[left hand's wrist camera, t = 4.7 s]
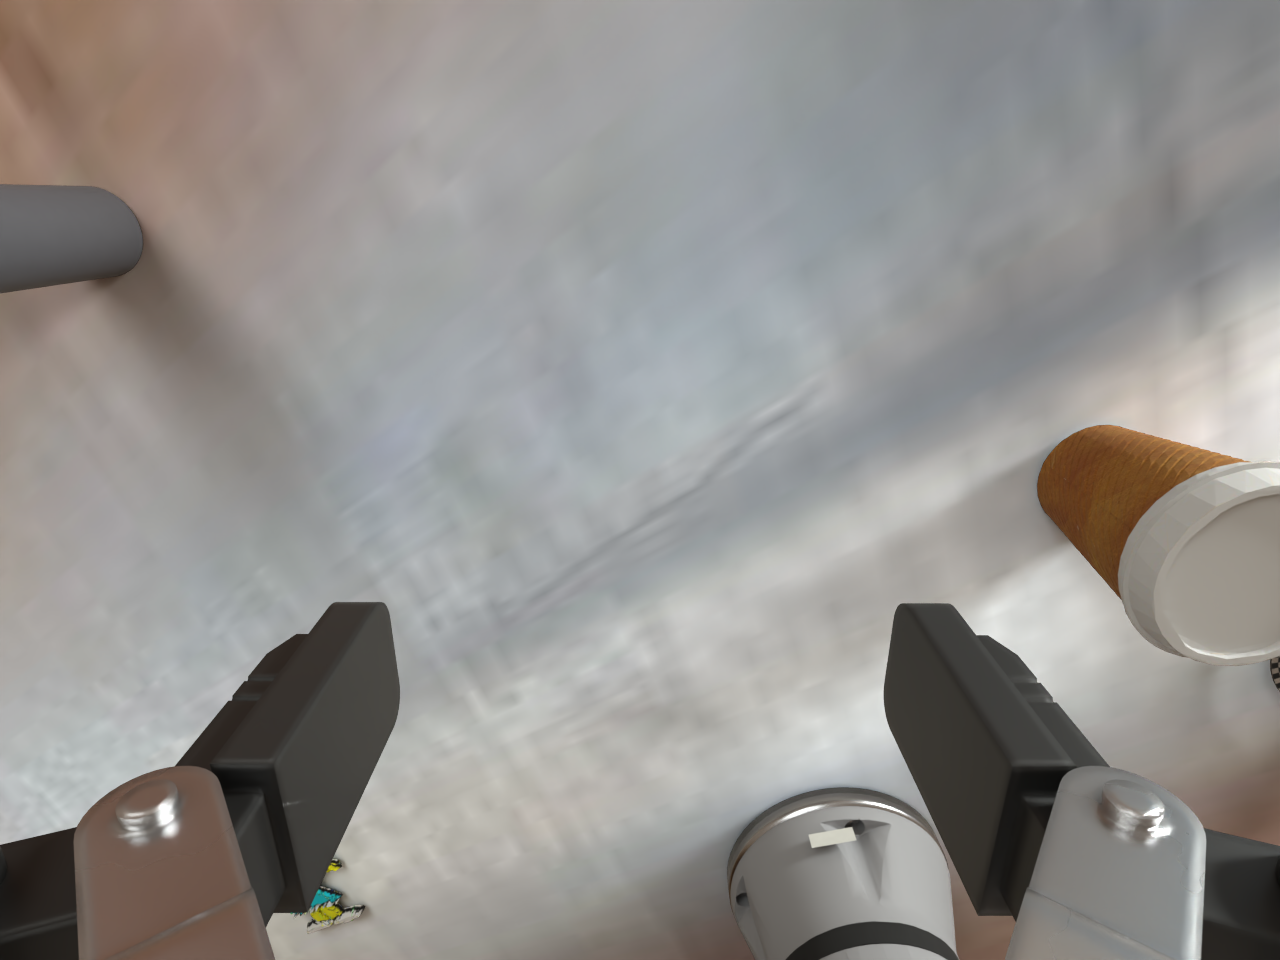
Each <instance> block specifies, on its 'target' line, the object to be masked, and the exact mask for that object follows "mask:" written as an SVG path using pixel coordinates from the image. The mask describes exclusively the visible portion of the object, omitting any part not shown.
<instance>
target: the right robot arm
mask: <svg viewBox="0 0 1280 960" xmlns="http://www.w3.org/2000/svg"><path fill="white" fill-rule="evenodd" d="M727 881H728V889H729V897H730V904H731V908H732V912H733V914H734V917H735V919H736V922H737V924H738V926H739V928H740V930H741V932H742V934H743V936H744V938H745V940H746V942H747V944H748V946H749V948H750V950H751V952H752V954H753V956H754V958H755V960H959V958H958V956H957V952H956V942H955V930H954V918H953V906H952V894H951V882H950V874H949V868H948V864H947V860H946V858H945V855H944V853H943V850H942V848H941V846H940V844H939V842H938V840H937V837H936V835H935V833H934V832H933V830H932V828H931V826H930V825H929V824H928V822H927V821H926V820H925V819H924V818H923V817H922V816H921V815H920V814H919V813H918V812H917V811H916V810H915V809H913V808H912V807H910V806H909V805H907V804H906V803H904V802H902V801H900V800H899V799H896V798H894V797H892V796H889V795H886V794H883V793H880V792H876V791H872V790H867V789H860V788H828V789H821V790H815V791H811V792H807V793H803V794H800V795H797V796H794V797H791V798H789V799H786V800H784V801H782V802H780V803H778V804H776V805H774V806H772V807H771V808H769V809H768V810H766V811H765V812H763V813H762V814H761V815H759V816H758V817H757V818H756V819H754V820H753V821H752V822H751V823H750V824H749V825H748V826H747V827H746V829H745V830H744V831H743V832H742V834H741V835H740V836H739V838H738V839H737V841H736V843H735V845H734V847H733V849H732V851H731V854H730V857H729V861H728V867H727Z"/></svg>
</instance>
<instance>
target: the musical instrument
mask: <svg viewBox="0 0 1280 960" xmlns="http://www.w3.org/2000/svg"><path fill="white" fill-rule="evenodd" d="M1270 668H1271V674H1272V678H1273V681H1274V683H1275V685H1276V687H1277V689H1278V690H1279V691H1280V656H1278V657H1275V658H1272V659H1271V660H1270Z"/></svg>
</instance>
